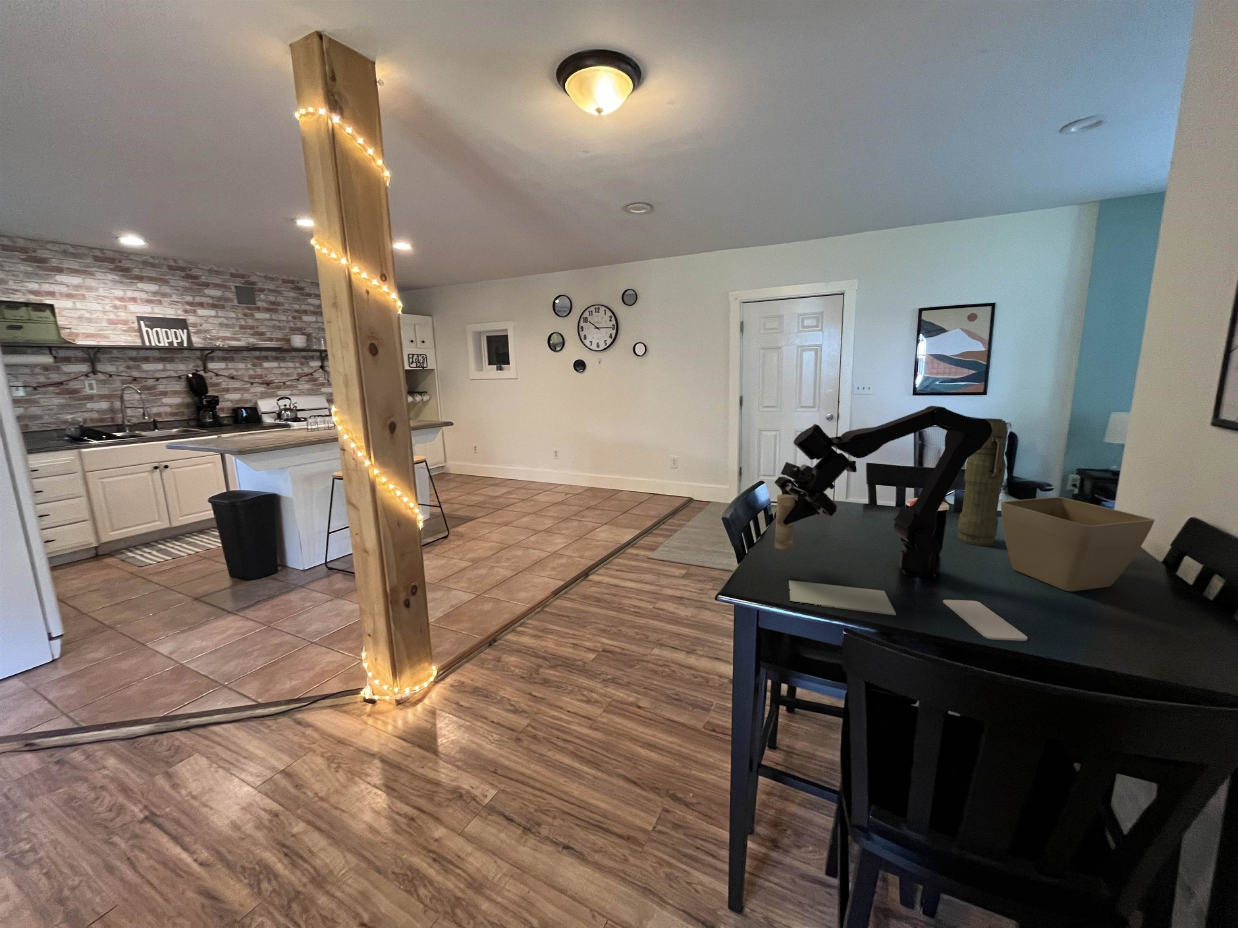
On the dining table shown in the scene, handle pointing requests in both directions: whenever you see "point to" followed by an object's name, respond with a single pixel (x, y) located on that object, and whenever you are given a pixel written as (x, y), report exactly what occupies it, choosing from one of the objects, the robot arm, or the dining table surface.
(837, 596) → the sage mat
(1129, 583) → the dining table surface
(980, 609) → the smartphone
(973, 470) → the thermos
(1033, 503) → the flower pot
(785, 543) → the maple post
